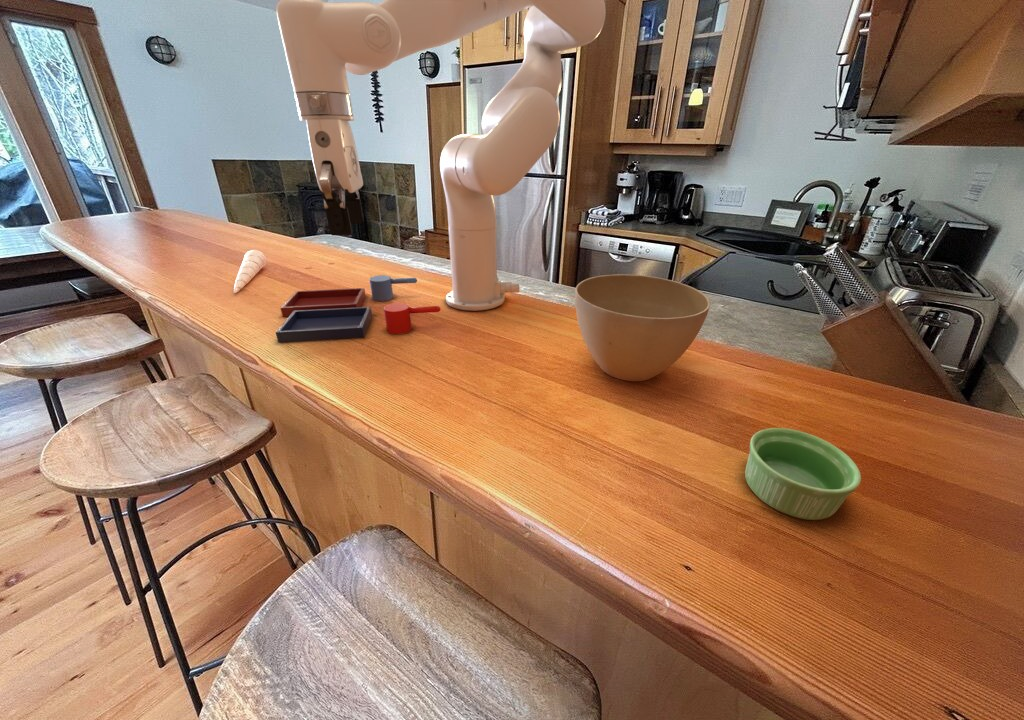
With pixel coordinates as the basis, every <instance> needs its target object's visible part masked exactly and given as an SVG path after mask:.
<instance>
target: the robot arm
mask: <svg viewBox="0 0 1024 720" xmlns="http://www.w3.org/2000/svg"><path fill="white" fill-rule="evenodd" d="M527 9H528V10H527ZM525 10H527V13H526V15H525V18H524V25H523V38H524V39H523V40H524V58H523V61H522V64H521V65H520V67H519V68H518V70H517V71H516V72H515V74H514V75H513V76H512V77H511V78H510V79H509V80H508V81H507V83H506V84H505V85H504V86H503V87H502V88H501V89H500V90H499V92H498V93H497V94H496V95H495V96H494V97H493V98H492V99H491V100H490V101H489V102H488V104H487V105H486V107H485V109H484V110H483V113H482V116H481V123H480V124H481V130H482V133H464V134H459V135H456V136H453V137H452V138H451V139H449V140H448V141H447V142H446V143H445V145H444V146H443V148H442V150H441V153H440V158H439V170H440V177H441V183H442V186H443V191H444V195H445V196H444V197H445V203H446V212H447V225H448V226H447V227H448V230H447V231H448V242H449V244H448V245H449V257H450V272H451V287H452V288H451V291H450V292H448V293H447V294H446V296H445V303H446V304H447V305H448V306H449V307H451V308H453V309H455V310H460V311H470V312H471V311H472V312H475V311H477V312H479V311H486V310H492V309H495V308H497V307H499V306H501V305H503V303H504V302H505V297H506V296H505V294H506V293H510V294H517V293H520V283H512V281H511V280H510V281H501V280H500V279H499V277H498V256H497V255H498V249H497V245H498V244H497V224H498V223H497V210H496V203H495V199H494V196H495V197H497V196H502V195H505V194H506V193H508V192H510V191H512V190H513V189H514V188H515V187H516V186H517V185H518V184H519V183H520V181H522V180H523V179H524V177H525V176H526V175H527V174H528V173H529V172H530V170H531V169H532V168H533V167H534V166H535V165H536V164H537V162H538V161H539V160H540V159H541V158H542V156H543V155H544V154H545V153H546V152H547V150H549V148H550V147H551V145H552V144H553V142H554V140H555V138H556V137H557V133H558V131H559V127H560V108H559V105H558V102H557V98H558V97H559V95H560V93H561V88H562V85H563V84H562V82H563V77H562V76H563V75H562V74H563V73H562V71H563V70H562V55H561V52H563V51H567V50H571V49H575V48H579V47H580V48H581V47H584V46H586V45H588V44H590V43H592V42H593V41H595V40H596V38H598V36H599V35H600V34H601V32H602V30H603V27H604V24H605V21H606V15H607V14H606V13H607V12H606V2H605V0H383V1H381V2H379V3H374V2H369V1H347V2H328V1H324V0H278V2H277V4H276V18H277V22H278V26H279V27H278V28H279V31H280V35H281V40H282V45H283V49H284V53H285V59H286V63H287V67H288V72H289V76H290V81H291V84H292V88H293V89H292V90H293V92H294V99H295V101H296V102H295V103H296V108H297V112H298V116H299V121H305V123H306V128H307V136H308V141H309V149H310V153H311V159H312V164H313V168H314V174H315V177H316V181H317V186H318V188H319V190H320V191H321V197H322V198H323V206H324V207H323V208H324V211H325V215H326V219H327V224H328V229H329V233H330V235H331V236H351V235H352V234H353V228H352V224H364V222H365V219H364V213H363V206H362V201H361V198H360V192H359V190H360V189H362V187H363V186H364V179H363V175H362V171H361V166H360V161H359V155H358V151H357V147H356V141H355V138H354V133H353V130H352V126H351V121H355V118H354V112H353V111H354V110H353V105H352V99H351V93H350V88H349V81H348V76H347V72H348V73H350V74H353V75H357V76H365V75H369V74H371V73H374V72H377V71H380V70H383V69H386V68H387V67H389V66H390V65H392V64H393V63H395V62H397V61H399V60H401V59H404V58H407V57H409V56H411V55H414V54H417V53H419V52H423V51H426V50H428V49H433V48H438V47H441V46H444V45H446V44H450V43H451V42H454V41H456V40H458V39H461V38H464V37H466V36H468V35H470V34H472V33H474V32H476V31H479V30H481V29H483V28H485V27H488V26H490V25H492V24H493V25H494V24H495V23H497V22H499V21H502V20H503V19H506V18H509V17H511V16H513V15H515V14H517V13H519V12H522V11H525Z"/></svg>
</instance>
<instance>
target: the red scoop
mask: <svg viewBox="0 0 1024 720" xmlns="http://www.w3.org/2000/svg"><path fill="white" fill-rule="evenodd" d="M441 309H442V308H441V307H440V306H439V305H431V306H430V305H429V306H428V305H427V306H413V307H412V306H411V307H410V305H409V304H408V303H406V302H393V303H389V304H387V305H385V306H384V307H383V313H384V321H385V326H386V332H387V333H388V334H391V335H403V334H407V333H409V332H410V331H412V319H411V314H426V313H427V314H428V313H439V312H441Z"/></svg>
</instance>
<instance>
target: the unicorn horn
mask: <svg viewBox="0 0 1024 720" xmlns="http://www.w3.org/2000/svg"><path fill="white" fill-rule="evenodd" d="M266 264H267V258H266V255H265V254H264V253H263V252H262V251H260V250H257V249H251V250H248V251H246V253H245V254H244V256H243V260H242V262H241V264H240V267H239V270H238V273H237V275H236V278H235V282H234V286H233V294H236V293H238V292H240V290H242V289H243V288H244V287H245V286H246V285H247V284H248V283H249V282H251V280H252V279H253V278H254V277H255V276H256V275H257V274H258V273H259V272H260V271H261V270H262V269H263V267H264V266H265V265H266Z"/></svg>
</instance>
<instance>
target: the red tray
mask: <svg viewBox="0 0 1024 720" xmlns="http://www.w3.org/2000/svg"><path fill="white" fill-rule="evenodd" d="M366 296H367V295H366V289H365V287H359V288H358V287H356V288H355V287H353V288H335V289H333V288H331V289H310V290H296V291H295V292H294V293H292V295H291V296H290V297H289V298H288V299H287V300H286V301H285V302H284V304H282V305H281V307H280V312H281V315H282V318H288V317H289V316H290V315H291V314H292V312H293V311H297V310H317V309H337V308H357V307H362V305H363V303H364V301H365V299H366Z"/></svg>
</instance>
